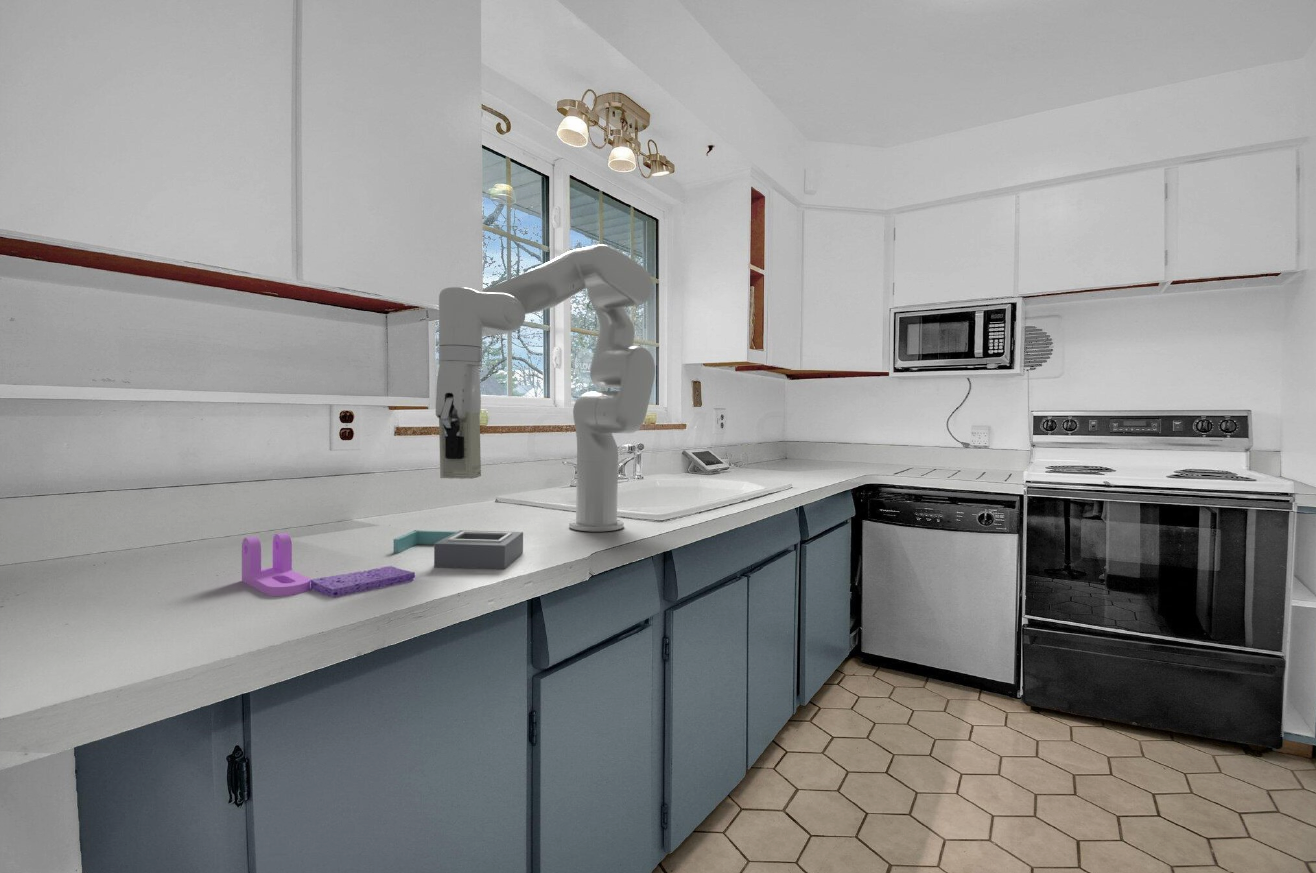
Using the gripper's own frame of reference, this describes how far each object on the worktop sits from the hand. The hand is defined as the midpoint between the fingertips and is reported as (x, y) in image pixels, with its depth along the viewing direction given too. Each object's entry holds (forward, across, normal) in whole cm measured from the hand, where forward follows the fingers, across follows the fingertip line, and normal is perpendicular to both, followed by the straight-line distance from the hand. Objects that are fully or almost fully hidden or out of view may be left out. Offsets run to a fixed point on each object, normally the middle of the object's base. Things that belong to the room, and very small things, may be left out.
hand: (460, 456), depth 112 cm
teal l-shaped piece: (+18, -4, -7) cm, 20 cm away
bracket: (+18, +23, -18) cm, 35 cm away
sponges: (+19, +21, -6) cm, 29 cm away
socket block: (+18, +4, +5) cm, 19 cm away
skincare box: (+4, 0, 0) cm, 4 cm away
